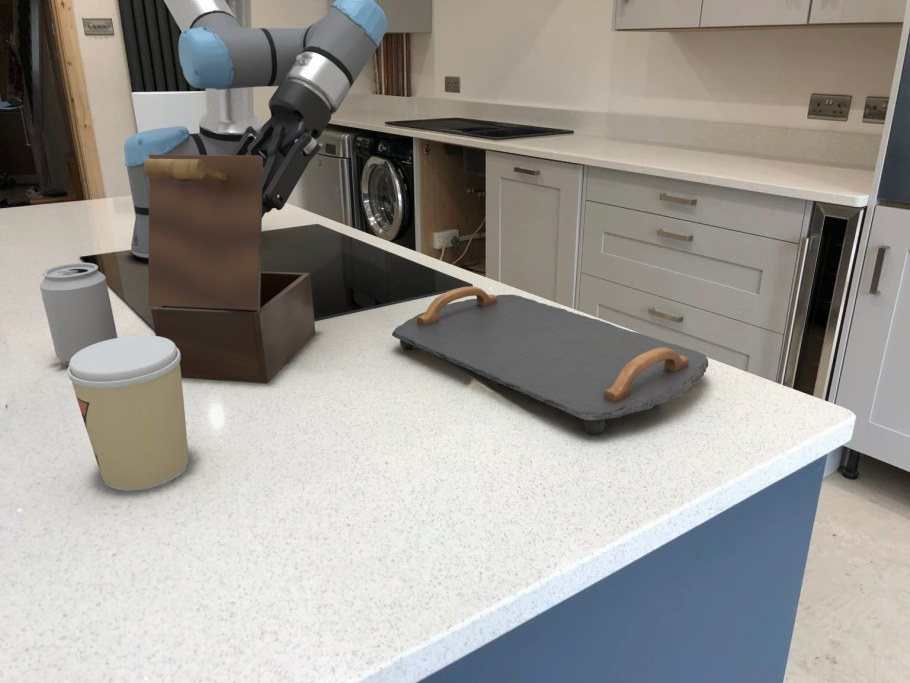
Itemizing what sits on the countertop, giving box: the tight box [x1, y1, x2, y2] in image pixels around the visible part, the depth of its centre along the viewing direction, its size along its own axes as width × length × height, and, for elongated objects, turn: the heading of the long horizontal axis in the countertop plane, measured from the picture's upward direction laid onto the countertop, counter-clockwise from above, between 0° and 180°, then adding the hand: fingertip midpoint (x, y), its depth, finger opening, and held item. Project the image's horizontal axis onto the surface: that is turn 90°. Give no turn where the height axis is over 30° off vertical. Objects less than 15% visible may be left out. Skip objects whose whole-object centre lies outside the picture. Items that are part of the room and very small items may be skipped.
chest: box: [150, 270, 317, 385], centre depth 94 cm, size 17×14×9 cm
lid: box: [144, 154, 263, 311], centre depth 81 cm, size 17×14×8 cm
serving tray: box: [391, 286, 709, 436], centre depth 90 cm, size 39×23×6 cm, turn 42°
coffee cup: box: [67, 334, 189, 492], centre depth 68 cm, size 9×9×12 cm
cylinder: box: [130, 90, 207, 134], centre depth 175 cm, size 17×17×28 cm
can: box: [39, 262, 119, 365], centre depth 94 cm, size 8×8×12 cm
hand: (211, 245), depth 90 cm, fingers closed on beverage cup, 6 cm apart
